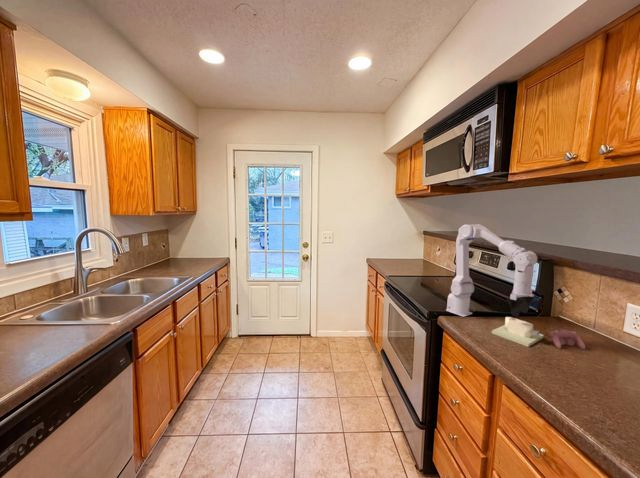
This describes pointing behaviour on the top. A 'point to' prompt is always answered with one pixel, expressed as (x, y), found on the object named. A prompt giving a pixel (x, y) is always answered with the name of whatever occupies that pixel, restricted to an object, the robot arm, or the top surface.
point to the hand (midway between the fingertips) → (519, 313)
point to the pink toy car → (570, 336)
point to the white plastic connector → (520, 327)
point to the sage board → (516, 336)
